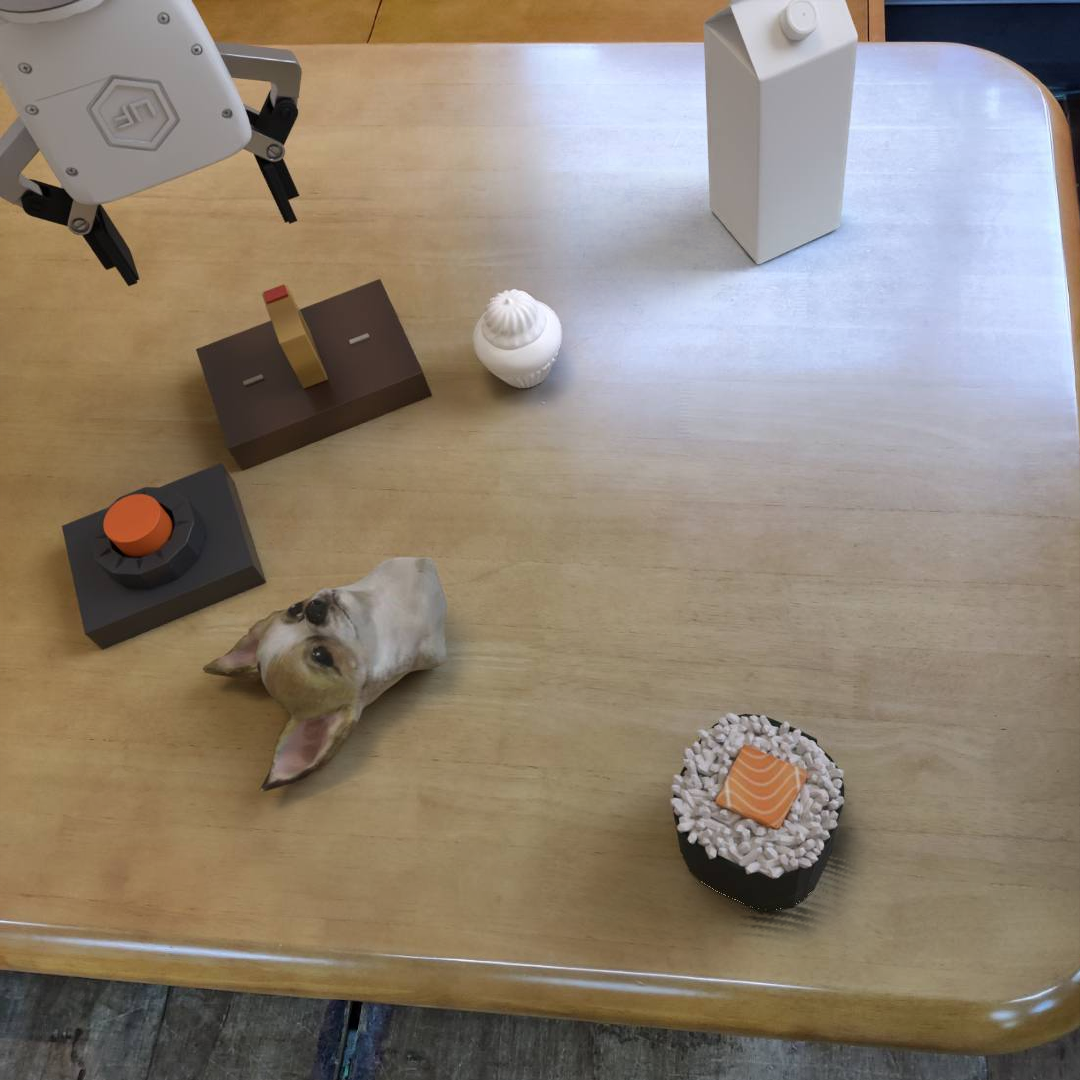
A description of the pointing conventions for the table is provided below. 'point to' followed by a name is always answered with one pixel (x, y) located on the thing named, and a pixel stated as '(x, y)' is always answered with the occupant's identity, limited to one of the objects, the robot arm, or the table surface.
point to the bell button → (138, 525)
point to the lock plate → (327, 407)
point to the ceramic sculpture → (340, 657)
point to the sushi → (757, 810)
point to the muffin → (518, 338)
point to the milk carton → (778, 119)
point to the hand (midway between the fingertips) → (208, 238)
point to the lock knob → (294, 336)
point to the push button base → (164, 560)
